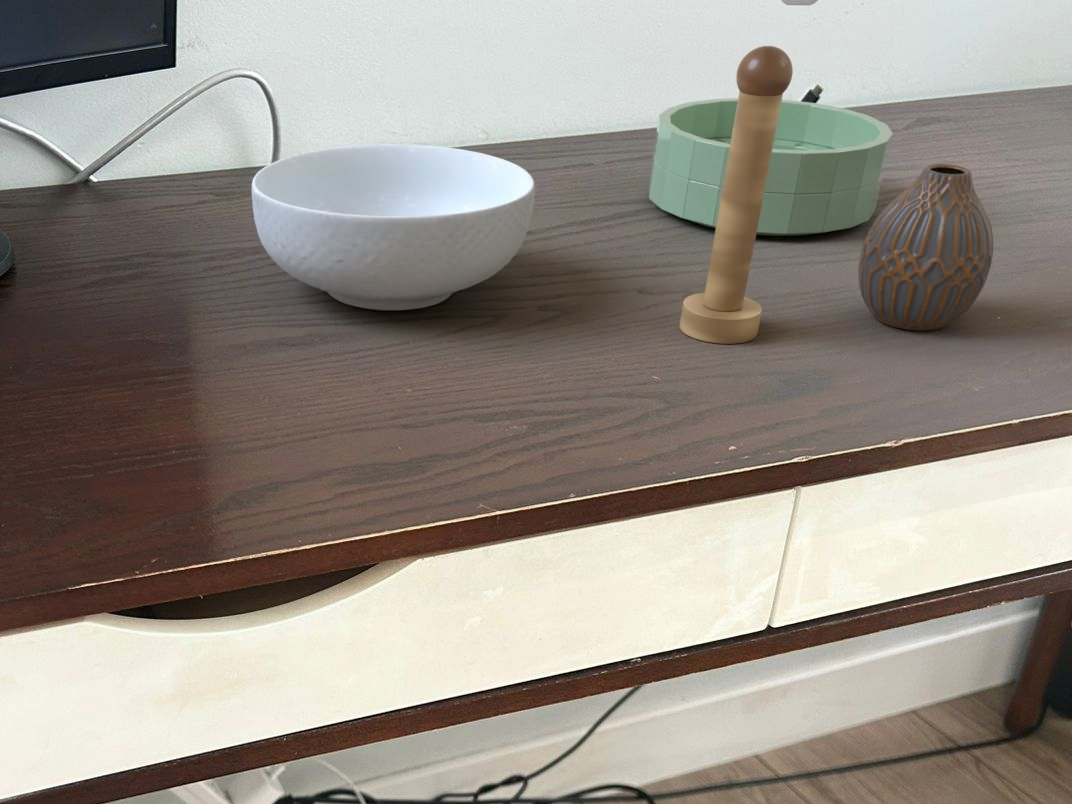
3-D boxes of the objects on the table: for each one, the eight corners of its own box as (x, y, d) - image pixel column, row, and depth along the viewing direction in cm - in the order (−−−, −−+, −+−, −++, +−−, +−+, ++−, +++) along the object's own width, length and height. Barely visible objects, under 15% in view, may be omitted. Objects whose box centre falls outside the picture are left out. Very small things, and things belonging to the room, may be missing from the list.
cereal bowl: (508, 246, 92) (518, 139, 89) (541, 340, 78) (555, 218, 75) (258, 245, 93) (256, 139, 89) (246, 338, 79) (244, 216, 75)
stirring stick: (754, 319, 81) (808, 39, 73) (760, 346, 77) (818, 56, 69) (678, 313, 82) (723, 36, 73) (680, 341, 78) (728, 53, 70)
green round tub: (855, 184, 104) (873, 103, 101) (887, 249, 92) (910, 158, 88) (645, 173, 107) (657, 94, 104) (649, 234, 94) (662, 146, 91)
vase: (854, 335, 79) (890, 182, 74) (841, 294, 84) (874, 149, 80) (983, 345, 77) (1028, 190, 73) (961, 303, 83) (1002, 156, 78)
